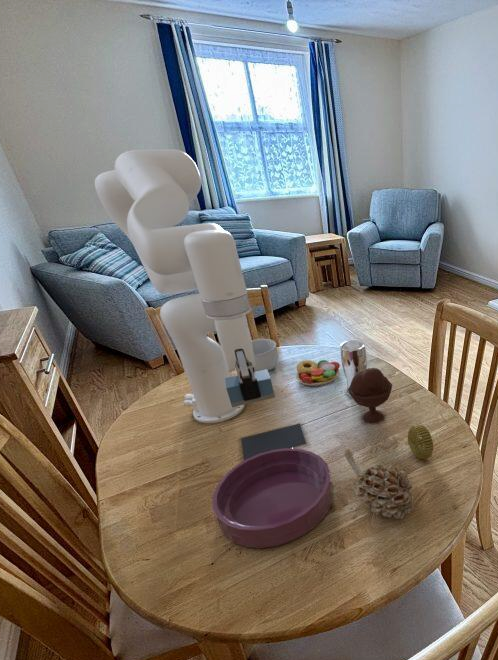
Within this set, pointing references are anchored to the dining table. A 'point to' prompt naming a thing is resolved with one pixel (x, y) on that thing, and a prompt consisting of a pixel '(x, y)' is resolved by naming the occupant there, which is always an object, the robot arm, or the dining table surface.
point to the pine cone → (383, 489)
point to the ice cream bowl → (370, 392)
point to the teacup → (264, 354)
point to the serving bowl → (273, 497)
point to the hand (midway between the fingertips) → (251, 391)
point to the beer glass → (353, 359)
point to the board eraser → (235, 390)
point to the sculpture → (420, 441)
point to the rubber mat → (272, 440)
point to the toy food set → (317, 372)
